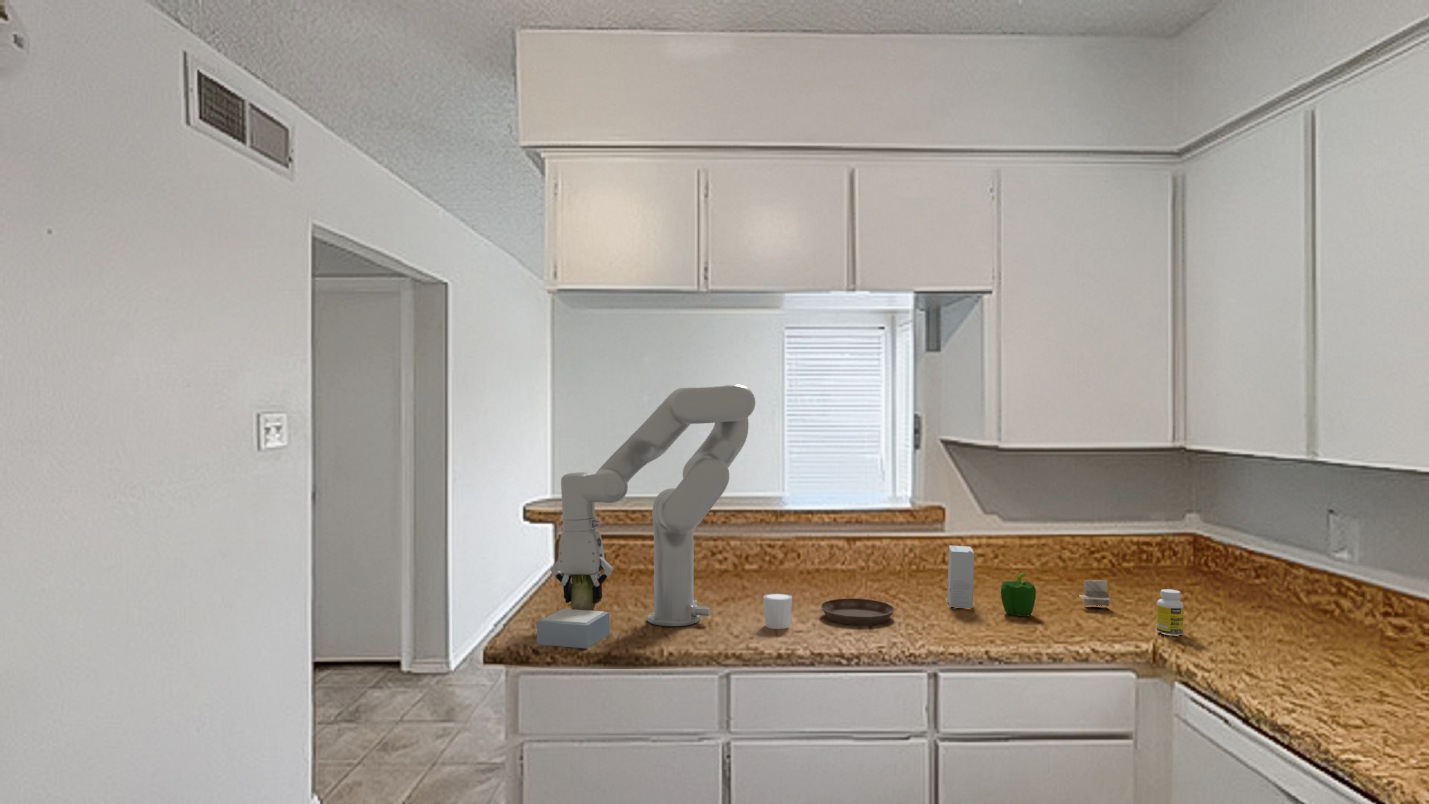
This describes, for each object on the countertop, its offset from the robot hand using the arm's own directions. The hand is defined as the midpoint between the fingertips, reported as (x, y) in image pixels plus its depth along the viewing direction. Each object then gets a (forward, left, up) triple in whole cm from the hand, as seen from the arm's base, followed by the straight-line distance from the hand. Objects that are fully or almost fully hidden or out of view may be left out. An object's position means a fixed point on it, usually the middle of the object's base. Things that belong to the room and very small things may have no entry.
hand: (583, 601), depth 214 cm
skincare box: (-85, -45, -6) cm, 96 cm away
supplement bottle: (-131, -29, -6) cm, 134 cm away
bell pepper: (-99, -39, -6) cm, 107 cm away
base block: (-3, +12, -6) cm, 13 cm away
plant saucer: (-61, -25, -6) cm, 66 cm away
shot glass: (-44, -12, -6) cm, 46 cm away
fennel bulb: (0, 0, -3) cm, 3 cm away
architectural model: (-118, -51, -6) cm, 129 cm away
